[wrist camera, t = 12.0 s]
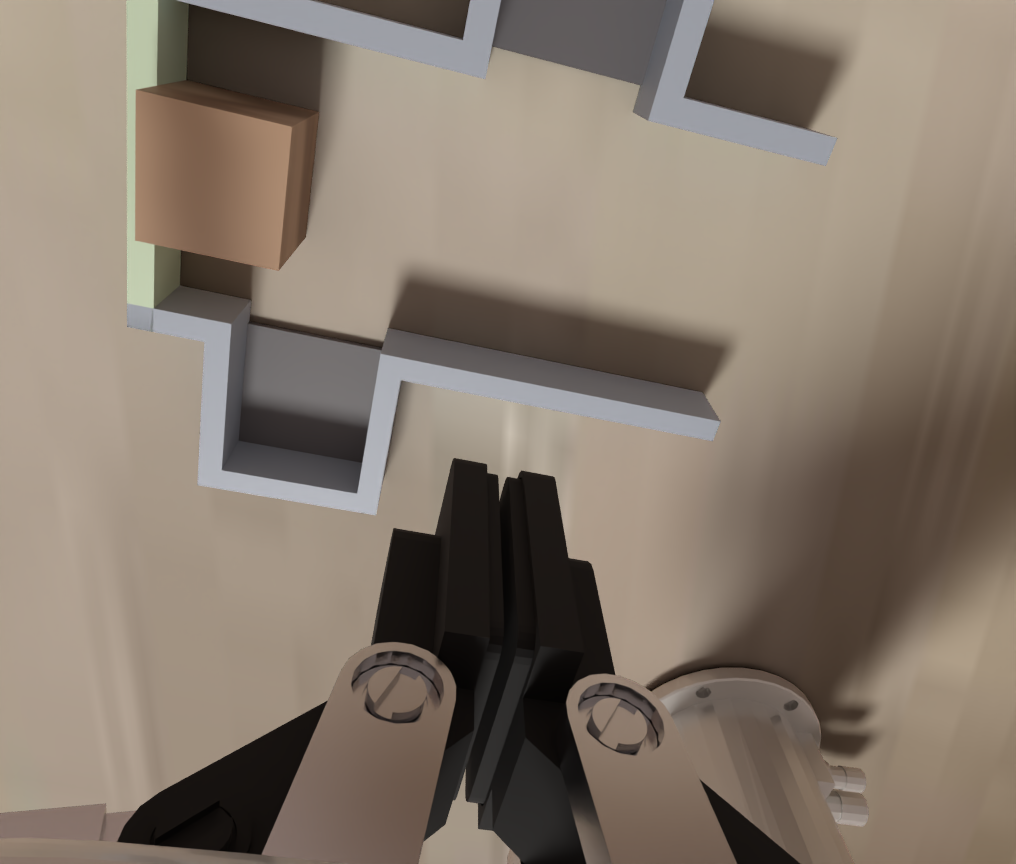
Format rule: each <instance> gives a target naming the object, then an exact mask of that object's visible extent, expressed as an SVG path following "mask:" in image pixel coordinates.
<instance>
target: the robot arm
mask: <svg viewBox="0 0 1016 864" xmlns="http://www.w3.org/2000/svg"><path fill="white" fill-rule="evenodd" d="M820 741H821V729H820V723H819V720H818V718H817V716H816V714H815V711H814V709H813V707H812V705H811V703H810V702H809V700H808V699H807V697H806V696H805V694H804V693H803V692H801V691H800V690H799V689H798V688H797V687H796V686H795V685H794V684H792V683H790V682H788V681H787V680H785V679H783V678H781V677H779V676H777V675H774V674H771V673H768V672H765V671H761V670H755V669H748V668H716V669H708V670H701V671H698V672H694V673H691V674H687V675H683V676H681V677H678V678H676V679H674V680H671V681H669V682H667V683H664V684H663V685H661V686H659V687H658V688H656V689H655V690H653V691H649V690H648V689H646V688H645V687H643V686H642V685H640V684H639V683H637V682H635V681H632V680H630V679H627V678H624V677H622V676H617V675H615V671H614V666H613V662H612V657H611V652H610V647H609V643H608V638H607V633H606V628H605V624H604V619H603V614H602V609H601V605H600V600H599V595H598V590H597V585H596V581H595V576H594V571H593V568H592V565H591V564H590V563H589V562H588V561H582V560H576V559H570V558H568V553H567V547H566V541H565V535H564V529H563V523H562V517H561V511H560V505H559V499H558V493H557V487H556V481H555V478H554V477H553V476H547V475H542V474H537V473H531V472H526V471H521V472H520V473H519V476H518V478H517V479H516V478H511V477H507V478H506V480H505V483H504V487H503V490H502V494H501V498H500V501H499V484H498V475H495V474H489V473H487V464H483V463H478V462H472V461H467V460H462V459H456V458H454V459H453V461H452V465H451V469H450V473H449V477H448V482H447V486H446V490H445V494H444V499H443V503H442V507H441V512H440V516H439V520H438V524H437V529H436V533H435V535H431V534H425V533H419V532H413V531H407V530H402V529H396V528H394V529H393V533H392V537H391V542H390V547H389V552H388V557H387V562H386V567H385V572H384V577H383V583H382V588H381V593H380V598H379V604H378V609H377V614H376V620H375V626H374V631H373V637H372V643H371V646H369V647H366V648H363V649H361V650H360V651H358V652H357V653H355V654H354V655H353V656H351V657H350V658H349V659H348V660H347V662H346V663H345V665H344V666H343V668H342V669H341V671H340V673H339V676H338V678H337V680H336V683H335V685H334V687H333V690H332V692H331V694H330V697H329V699H328V701H326V702H324V703H322V704H321V705H319V706H317V707H315V708H313V709H311V710H310V711H308V712H306V713H304V714H302V715H300V716H299V717H297V718H295V719H293V720H291V721H289V722H288V723H286V724H284V725H282V726H280V727H278V728H277V729H275V730H273V731H271V732H269V733H267V734H266V735H264V736H262V737H260V738H258V739H256V740H255V741H253V742H251V743H249V744H247V745H245V746H244V747H242V748H240V749H238V750H236V751H234V752H233V753H231V754H229V755H227V756H225V757H223V758H222V759H220V760H218V761H216V762H214V763H212V764H211V765H209V766H207V767H205V768H203V769H201V770H200V771H198V772H196V773H194V774H192V775H190V776H189V777H187V778H185V779H183V780H181V781H179V782H178V783H176V784H174V785H172V786H170V787H168V788H167V789H165V790H163V791H161V792H159V793H158V794H157V795H155V796H154V797H152V798H151V799H150V800H148V801H147V802H145V803H144V804H143V805H141V806H140V807H139V808H138V809H137V811H128V812H117V813H107V814H106V804H95V805H84V806H73V807H62V808H51V809H40V810H29V811H18V812H7V813H0V864H418V863H419V858H420V854H421V850H422V845H423V842H424V841H425V840H426V839H427V838H429V837H430V836H431V835H433V834H434V833H435V832H436V831H438V830H439V829H440V828H441V827H443V826H444V825H445V824H446V820H447V817H448V814H449V811H450V807H451V804H452V801H453V800H455V799H456V797H457V794H458V791H459V788H460V785H461V782H462V778H463V775H464V772H465V769H466V788H465V794H466V801H467V802H473V803H478V829H483V830H492V831H494V832H495V833H496V834H497V835H498V836H499V837H500V838H501V839H502V841H503V842H504V843H505V844H506V845H507V846H508V847H509V848H510V851H509V854H508V857H507V864H854V862H853V859H852V857H851V855H850V853H849V850H848V848H847V846H846V844H845V842H844V839H843V837H842V835H841V833H840V830H839V828H838V826H837V824H845V825H853V826H864V825H865V824H866V823H867V820H868V816H869V812H868V805H867V802H866V799H865V798H864V796H863V795H862V794H860V793H862V792H863V791H864V790H865V787H866V777H865V774H864V772H863V771H862V770H861V769H859V768H852V767H845V766H838V767H836V766H829V764H828V763H827V762H826V761H825V760H824V759H823V757H822V755H821V753H820V751H819V749H820ZM833 788H835V789H833ZM836 789H839V790H836ZM836 823H837V824H836Z"/></svg>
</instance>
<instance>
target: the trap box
mask: <svg viewBox="0 0 1016 864" xmlns="http://www.w3.org/2000/svg"><path fill="white" fill-rule="evenodd" d="M713 3H714V0H470V4H469V9H468V15H467V20H466V26H465V31H464V37H463V38H459V37H455V36H451V35H448V34H444V33H440V32H436V31H432V30H428V29H425V28H421V27H417V26H413V25H409V24H406V23H402V22H398V21H394V20H390V19H386V18H383V17H379V16H375V15H371V14H367V13H364V12H360V11H356V10H352V9H348V8H344V7H341V6H337V5H333V4H329V3H325V2H321V1H318V0H126V6H127V327H131V328H136V329H141V330H146V331H151V332H156V333H161V334H167V335H172V336H177V337H182V338H187V339H192V340H197V341H202V342H204V363H203V384H202V404H201V425H200V445H199V466H198V485H200V486H206V487H212V488H218V489H223V490H229V491H235V492H241V493H247V494H253V495H259V496H265V497H271V498H277V499H283V500H288V501H294V502H300V503H306V504H312V505H318V506H324V507H330V508H336V509H342V510H347V511H353V512H359V513H365V514H371V515H376V513H377V508H378V503H379V498H380V493H381V489H382V484H383V479H384V473H385V468H386V462H387V457H388V451H389V446H390V441H391V435H392V430H393V424H394V419H395V413H396V408H397V402H398V397H399V391H400V386H401V381H407V382H412V383H418V384H423V385H428V386H433V387H438V388H443V389H448V390H453V391H459V392H464V393H469V394H474V395H479V396H484V397H489V398H494V399H499V400H505V401H510V402H515V403H520V404H525V405H530V406H535V407H540V408H546V409H551V410H556V411H561V412H566V413H571V414H576V415H581V416H587V417H592V418H597V419H602V420H607V421H612V422H617V423H622V424H628V425H633V426H638V427H643V428H648V429H653V430H658V431H663V432H668V433H674V434H679V435H684V436H689V437H694V438H699V439H704V440H709V441H713V439H714V437H715V434H716V432H717V430H718V427H719V425H720V422H721V421H720V420H719V418H718V416H717V415H716V413H715V412H714V410H713V408H712V407H711V405H710V403H709V402H708V400H707V398H706V397H705V395H704V394H703V392H698V391H694V390H689V389H684V388H679V387H674V386H669V385H664V384H659V383H654V382H650V381H645V380H640V379H635V378H630V377H625V376H620V375H615V374H610V373H605V372H601V371H596V370H591V369H586V368H581V367H576V366H571V365H566V364H561V363H557V362H552V361H547V360H542V359H537V358H532V357H527V356H522V355H517V354H513V353H508V352H503V351H498V350H493V349H488V348H483V347H478V346H473V345H469V344H464V343H459V342H454V341H449V340H444V339H439V338H434V337H429V336H425V335H420V334H415V333H410V332H405V331H400V330H395V329H390V328H388V330H387V334H386V337H385V340H384V344H383V347H382V348H380V347H375V346H370V345H365V344H360V343H355V342H350V341H345V340H340V339H335V338H330V337H325V336H320V335H315V334H310V333H305V332H300V331H295V330H290V329H285V328H280V327H275V326H270V325H265V324H260V323H255V322H250V308H251V300H248V299H244V298H239V297H234V296H229V295H224V294H219V293H214V292H209V291H204V290H200V289H195V288H190V287H185V286H180V267H181V250H178V249H173V248H168V247H163V246H159V245H154V244H149V243H144V242H140V241H135V114H136V89H142V88H147V87H152V86H158V85H163V84H168V83H174V82H179V81H184V80H186V76H187V44H188V12H189V4H193V5H197V6H201V7H205V8H208V9H212V10H216V11H220V12H224V13H228V14H232V15H236V16H240V17H244V18H248V19H252V20H255V21H259V22H263V23H267V24H271V25H275V26H279V27H283V28H287V29H291V30H295V31H299V32H303V33H306V34H310V35H314V36H318V37H322V38H326V39H330V40H334V41H338V42H342V43H346V44H350V45H353V46H357V47H361V48H365V49H369V50H373V51H377V52H381V53H385V54H389V55H393V56H397V57H401V58H404V59H408V60H412V61H416V62H420V63H424V64H428V65H432V66H436V67H440V68H444V69H448V70H451V71H455V72H459V73H463V74H467V75H471V76H475V77H479V78H483V79H485V78H486V73H487V68H488V63H489V58H490V53H491V48H492V46H493V47H497V48H500V49H504V50H508V51H512V52H516V53H520V54H523V55H527V56H531V57H535V58H539V59H543V60H546V61H550V62H554V63H558V64H562V65H565V66H569V67H573V68H577V69H581V70H585V71H588V72H592V73H596V74H600V75H604V76H607V77H611V78H615V79H619V80H623V81H627V82H630V83H634V84H638V85H641V86H640V90H639V93H638V97H637V100H636V103H635V107H634V110H633V112H634V113H635V114H637V115H639V116H641V117H642V118H644V119H646V120H648V121H651V122H655V123H659V124H663V125H667V126H671V127H675V128H679V129H683V130H687V131H691V132H695V133H698V134H702V135H706V136H710V137H714V138H718V139H722V140H726V141H730V142H734V143H738V144H742V145H745V146H749V147H753V148H757V149H761V150H765V151H769V152H773V153H777V154H781V155H785V156H789V157H793V158H796V159H800V160H804V161H808V162H812V163H816V164H820V165H824V166H826V165H827V162H828V160H829V157H830V155H831V152H832V150H833V148H834V145H835V143H836V140H837V138H835V137H832V136H829V135H826V134H823V133H819V132H816V131H813V130H810V129H807V128H803V127H799V126H795V125H792V124H788V123H784V122H780V121H776V120H772V119H769V118H765V117H761V116H757V115H753V114H750V113H746V112H742V111H738V110H734V109H730V108H727V107H723V106H719V105H715V104H711V103H707V102H704V101H700V100H696V99H692V98H688V97H685V96H684V95H685V92H686V88H687V85H688V82H689V79H690V76H691V73H692V69H693V66H694V63H695V60H696V57H697V53H698V50H699V47H700V44H701V41H702V38H703V34H704V31H705V28H706V25H707V22H708V19H709V15H710V12H711V9H712V6H713Z"/></svg>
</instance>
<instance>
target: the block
mask: <svg viewBox="0 0 1016 864" xmlns="http://www.w3.org/2000/svg"><path fill="white" fill-rule="evenodd" d="M318 119H319V112H317V111H313V110H309V109H305V108H301V107H297V106H293V105H289V104H284V103H280V102H276V101H272V100H268V99H264V98H260V97H255V96H251V95H247V94H243V93H239V92H235V91H231V90H226V89H222V88H218V87H214V86H210V85H206V84H202V83H198V82H193V81H189V80H184V81H179V82H174V83H168V84H163V85H158V86H152V87H147V88H142V89H136V114H135V241H140V242H144V243H149V244H154V245H159V246H163V247H168V248H173V249H178V250H182V251H187V252H192V253H197V254H201V255H206V256H211V257H216V258H220V259H225V260H230V261H235V262H239V263H244V264H249V265H253V266H258V267H263V268H268V269H272V270H277V271H279V270H280V268H281V267H282V266H283V265H284V263H285V262H286V261H287V260H288V259H289V257H290V256H291V255H292V254H293V252H294V251H295V250H296V249H297V247H298V246H299V245H300V244H301V242H302V241H303V240H304V239H305V237H306V229H307V220H308V211H309V202H310V193H311V183H312V174H313V165H314V156H315V147H316V137H317V128H318Z"/></svg>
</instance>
